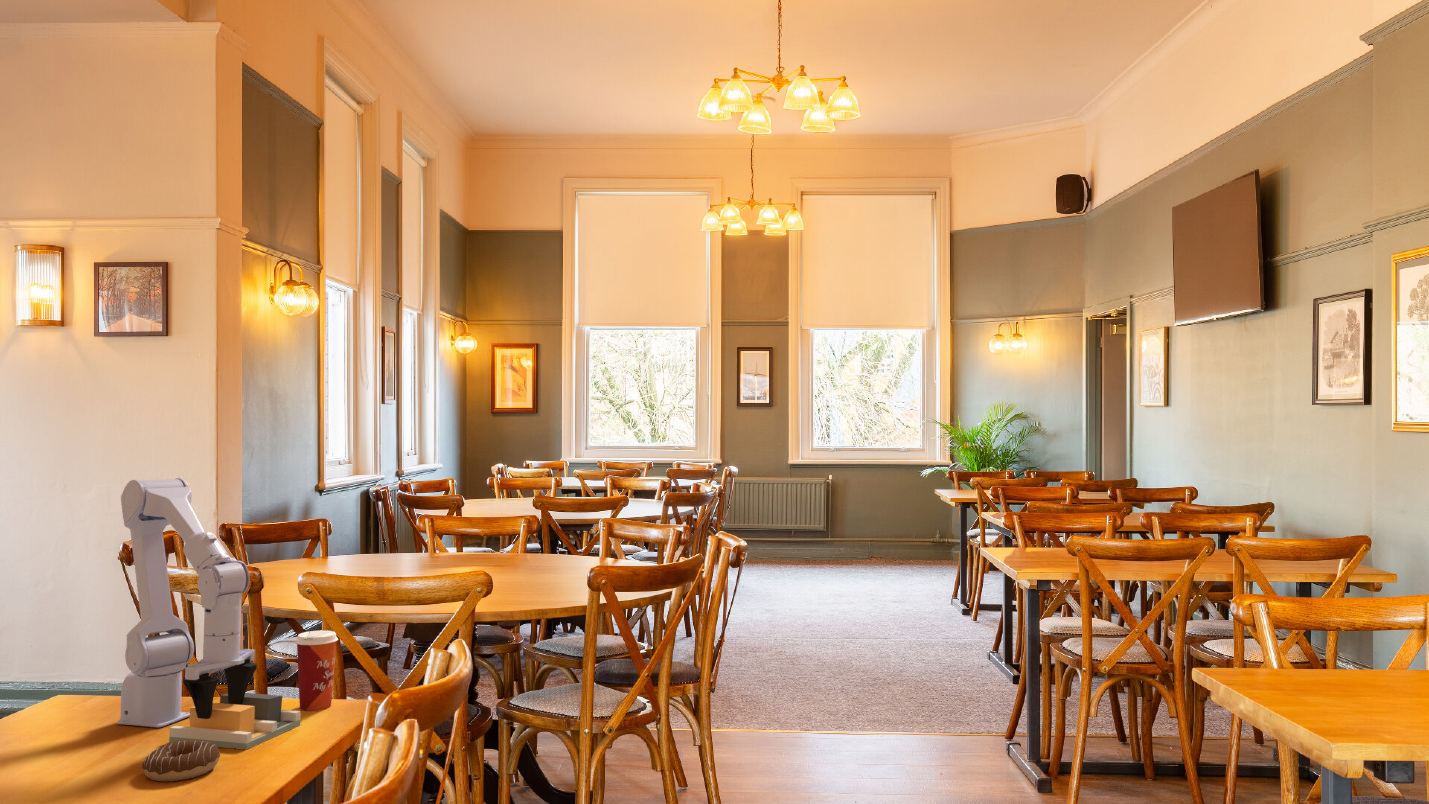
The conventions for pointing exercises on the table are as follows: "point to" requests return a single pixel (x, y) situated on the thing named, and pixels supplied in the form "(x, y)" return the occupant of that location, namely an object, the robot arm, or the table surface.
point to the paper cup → (316, 669)
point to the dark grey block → (261, 705)
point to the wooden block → (226, 718)
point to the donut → (181, 760)
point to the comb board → (238, 732)
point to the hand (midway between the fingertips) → (220, 711)
